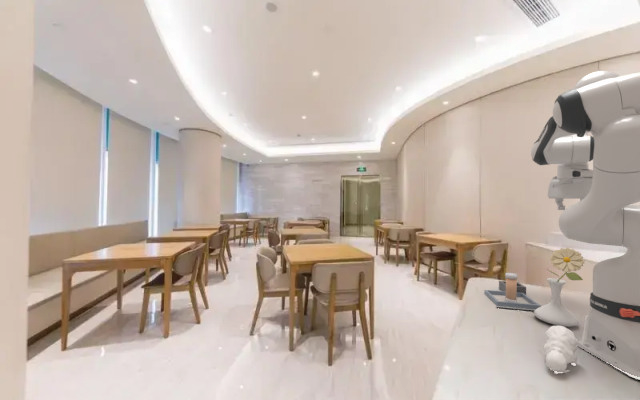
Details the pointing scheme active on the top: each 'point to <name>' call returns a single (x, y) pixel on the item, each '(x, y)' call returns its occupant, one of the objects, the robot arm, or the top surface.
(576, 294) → the top surface
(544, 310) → the flower in vase
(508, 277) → the tan bottle
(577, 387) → the top surface
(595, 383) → the top surface
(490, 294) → the parts tray
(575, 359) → the white lumpy oval piece
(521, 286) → the socket block
